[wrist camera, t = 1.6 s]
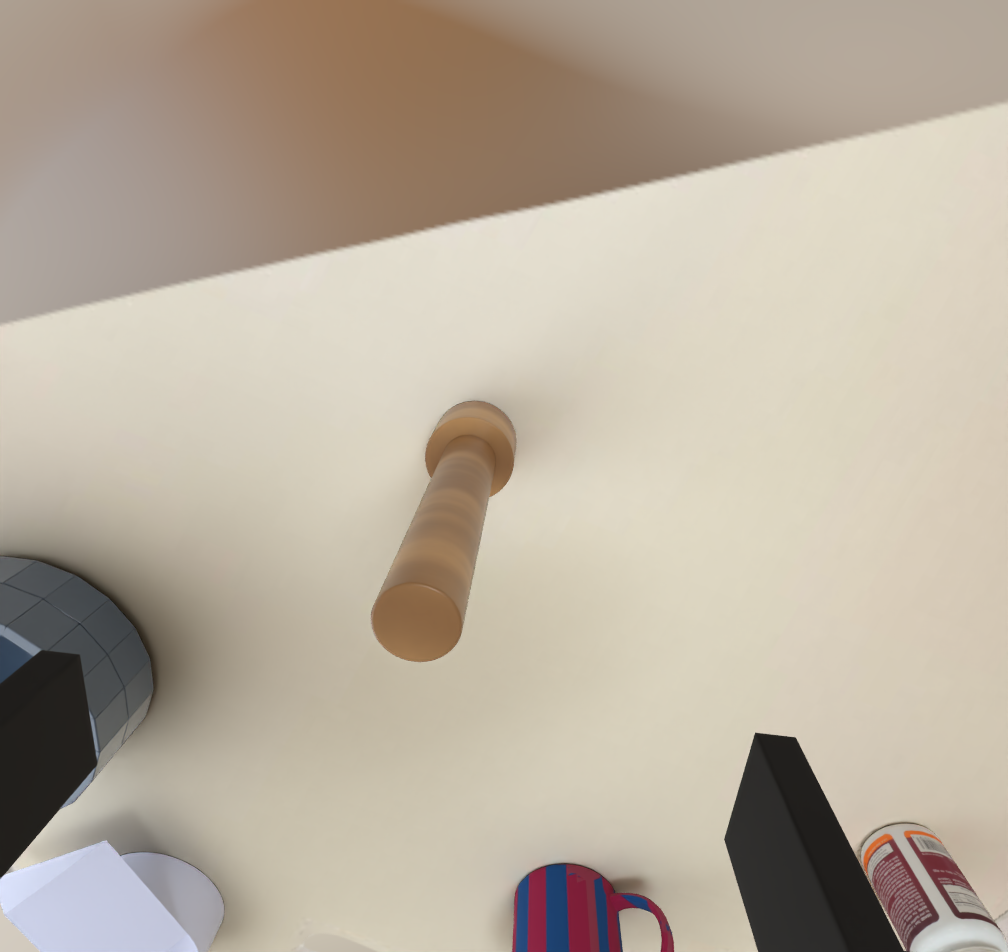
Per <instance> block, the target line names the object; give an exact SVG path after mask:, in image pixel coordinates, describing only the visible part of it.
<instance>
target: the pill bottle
mask: <svg viewBox="0 0 1008 952" xmlns="http://www.w3.org/2000/svg"><path fill="white" fill-rule="evenodd" d="M861 861H862V864H863V867H864V869H865V871H866V873H867V875H868V877H869V879H870V881H871V883H872V885H873V887H874V889H875V890H876V892H877V894H878V896H879V898H880V900H881V902H882V904H883V906H884V908H885V910H886V912H887V914H888V916H889V917H890V919H891V922H892V923H893V925H894V927H895V929H896V931H897V933H898V935H899V937H900V939H901V941H902V943H903V945H904V946H905V949H906V951H908V952H1008V946H1007V942H1006V939H1005V937H1004V935H1003V933H1002V931H1001V930H1000V928H999V927H998V926H997V924H996V923H995V921H994V920H993V919H992V917H991V916H990V914H989V913H988V911H987V910H986V908H985V907H984V905H983V904H982V902H981V901H980V899H979V898H978V896H977V895H976V893H975V892H974V890H973V889H972V887H971V886H970V884H969V883H968V881H967V880H966V878H965V876H964V875H963V874H962V872H961V871H960V869H959V868H958V866H957V865H956V863H955V862H954V860H953V858H952V857H951V855H950V854H949V852H948V851H947V850H946V848H945V847H944V845H943V844H942V842H941V841H940V839H939V838H938V837H937V836H936V834H935V833H933V832H932V831H931V830H929V829H927V828H925V827H923V826H920V825H916V824H896V825H891V826H887V827H884V828H882V829H880V830H878V831H877V832H875V833H874V834H872V835H871V836H870V837H869V838H868V839H867V841H866V842H865V844H864V845H863V848H862V851H861Z"/></svg>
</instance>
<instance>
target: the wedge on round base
mask: <svg viewBox="0 0 1008 952" xmlns="http://www.w3.org/2000/svg"><path fill="white" fill-rule="evenodd" d="M0 904H1V907H2V910H3V913H4V915H5V916H6V917H7V918H8V919H9V920H10V921H11V922H12V923H13V924H14V925H15V926H16V927H17V928H18V929H19V930H20V931H21V933H23V935H25V937H27V939H28V940H30V942H31V943H32V944H33V945H34V946H35V947H36V948H37V949H38V950H39V951H40V952H208V951H209V949H210V946H211V944H212V942H213V940H214V938H215V936H216V934H217V932H218V929H219V927H220V925H221V923H222V921H223V917H224V903H223V900H222V897H221V895H220V893H219V891H218V889H217V888H216V887H215V885H214V884H213V883H212V882H211V880H210V879H209V878H208V877H207V876H205V875H204V874H203V873H202V872H201V871H199V870H198V869H196V868H195V867H193V866H191V865H190V864H188V863H186V862H184V861H181V860H179V859H177V858H174V857H171V856H167V855H163V854H158V853H150V852H138V853H130V854H125V855H122V856H120V855H119V854H118V853H117V852H116V851H115V850H114V848H113V847H112V846H111V845H110V844H109V843H108V842H107V840H106V841H103V842H100V843H97V844H94V845H91V846H88V847H85V848H82V849H79V850H76V851H73V852H70V853H67V854H64V855H62V856H59V857H56V858H53V859H50V860H47V861H44V862H41V863H38V864H35V865H32V866H29V867H26V868H23V869H20V870H17V871H15V872H12V873H9V874H6V875H3V877H2V878H1V879H0Z"/></svg>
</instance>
